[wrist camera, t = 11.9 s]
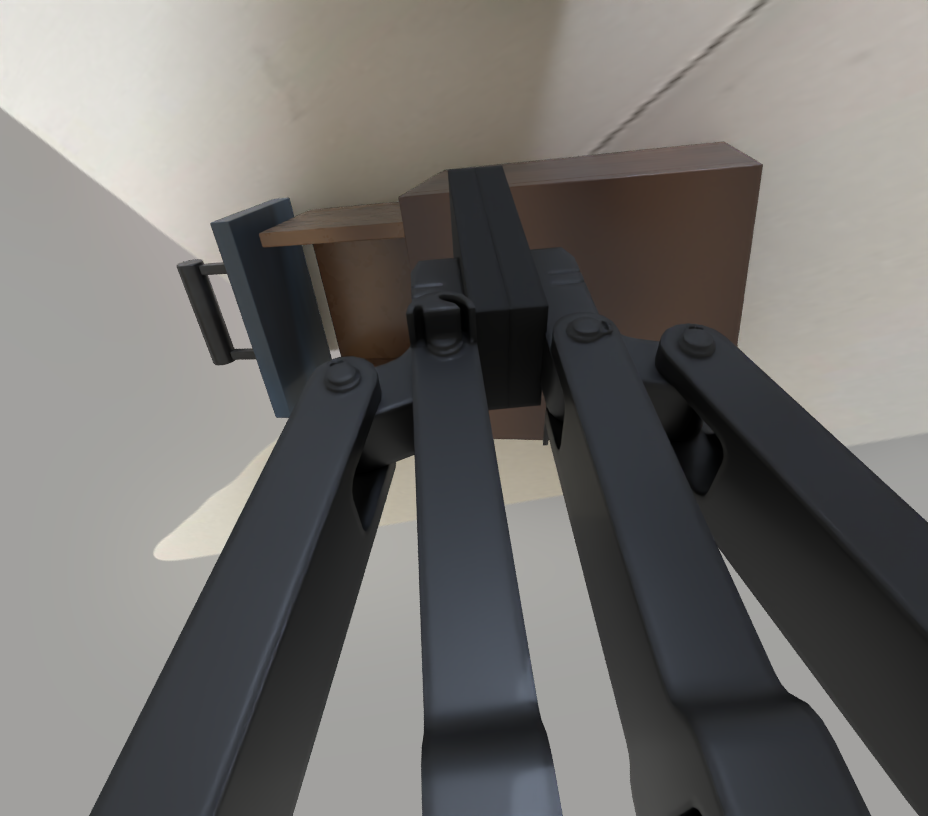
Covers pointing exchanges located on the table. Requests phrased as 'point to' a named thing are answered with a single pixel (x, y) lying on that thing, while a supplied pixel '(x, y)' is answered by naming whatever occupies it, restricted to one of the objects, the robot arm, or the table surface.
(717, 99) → the table surface
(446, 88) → the table surface
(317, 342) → the drawer
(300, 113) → the table surface
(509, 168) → the cabinet
